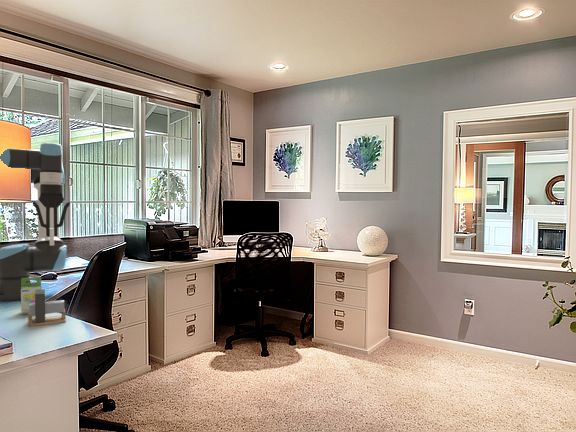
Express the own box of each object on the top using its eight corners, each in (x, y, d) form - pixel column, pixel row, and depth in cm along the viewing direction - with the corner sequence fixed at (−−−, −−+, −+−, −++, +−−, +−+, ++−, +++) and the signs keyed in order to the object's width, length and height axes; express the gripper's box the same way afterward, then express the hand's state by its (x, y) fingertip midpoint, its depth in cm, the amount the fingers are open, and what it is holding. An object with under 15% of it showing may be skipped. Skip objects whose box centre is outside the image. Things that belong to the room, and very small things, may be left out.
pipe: (29, 313, 156) (29, 302, 155) (63, 309, 161) (63, 299, 161) (29, 316, 152) (29, 305, 152) (64, 312, 158) (64, 301, 157)
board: (28, 320, 157) (28, 311, 157) (64, 316, 163) (64, 308, 163) (28, 326, 150) (28, 317, 150) (65, 321, 156) (65, 313, 156)
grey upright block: (35, 317, 158) (35, 290, 158) (44, 316, 160) (44, 289, 159) (35, 322, 151) (35, 294, 151) (45, 321, 153) (44, 293, 152)
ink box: (21, 314, 165) (20, 279, 164) (21, 312, 168) (21, 278, 167) (42, 312, 168) (41, 278, 168) (42, 310, 172) (41, 276, 171)
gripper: (31, 183, 159) (32, 246, 161) (70, 184, 166) (71, 245, 167) (31, 183, 166) (32, 244, 167) (69, 184, 172) (70, 243, 174)
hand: (51, 245), depth 167 cm, fingers closed
